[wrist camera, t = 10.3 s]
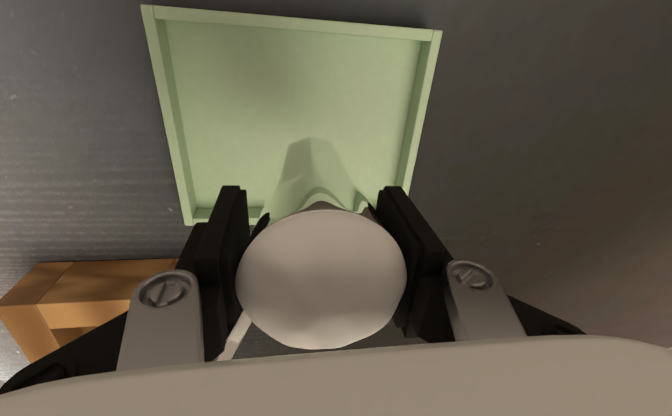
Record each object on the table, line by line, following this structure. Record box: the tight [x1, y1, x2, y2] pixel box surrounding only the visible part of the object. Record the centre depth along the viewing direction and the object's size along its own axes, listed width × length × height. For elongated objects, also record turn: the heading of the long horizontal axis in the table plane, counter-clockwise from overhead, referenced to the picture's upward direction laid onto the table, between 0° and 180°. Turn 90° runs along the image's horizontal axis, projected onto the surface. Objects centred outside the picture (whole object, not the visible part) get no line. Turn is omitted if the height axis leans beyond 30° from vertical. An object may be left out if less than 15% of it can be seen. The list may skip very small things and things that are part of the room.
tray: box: [140, 4, 442, 226], centre depth 21 cm, size 16×13×2 cm
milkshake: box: [214, 136, 407, 361], centre depth 11 cm, size 4×5×10 cm
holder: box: [0, 258, 179, 363], centre depth 26 cm, size 12×12×4 cm
